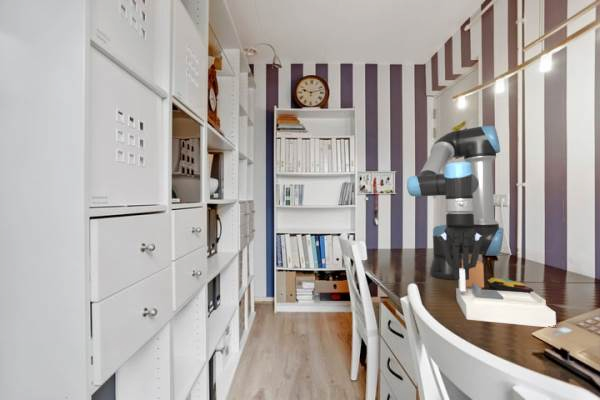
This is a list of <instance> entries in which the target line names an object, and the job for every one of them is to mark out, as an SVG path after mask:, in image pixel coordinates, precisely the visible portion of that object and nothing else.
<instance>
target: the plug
mask: <svg viewBox="0 0 600 400" xmlns="http://www.w3.org/2000/svg"><path fill="white" fill-rule="evenodd" d="M470 261H471V259H469V263H470ZM462 268H464V267H463V260H462ZM484 275H485V274H484V263H483V262H482V261H481V260H477V264H476V267H475V268H470V269H469V280H465V285H466V289H472V283H477V284H478V285H479V286H480V287H481V288H485V279H484Z"/></svg>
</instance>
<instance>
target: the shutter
mask: <svg viewBox="0 0 600 400" xmlns="http://www.w3.org/2000/svg"><path fill="white" fill-rule="evenodd" d="M472 293H473V294H474V296H475V297H477V298H491V299H503V296H502V295H501V294H499V293H498V292H497V291H490V289H482V287H480V286H479V285H478V284H477V283H472Z"/></svg>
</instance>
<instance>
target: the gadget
mask: <svg viewBox="0 0 600 400" xmlns="http://www.w3.org/2000/svg"><path fill="white" fill-rule="evenodd" d="M485 284H487V285H488V290H494V291H509V292H524V293H529V294H530V292H534V289H533V288H531V287H528V286H526V284H525V283H523V282H519V281H515V280H511V279H508V278H504V277H501V278H497V277H491V278H489V279H486V280H485Z"/></svg>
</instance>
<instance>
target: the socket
mask: <svg viewBox="0 0 600 400" xmlns="http://www.w3.org/2000/svg"><path fill="white" fill-rule="evenodd" d="M489 290H490V289H489ZM455 291H456V292H455V293H456V294H455V296H456V302H457V304H458V306H459V307H460V310H461V311H462V313H463V315H464V318H465V319H466V320H469V321H479V322H480V321H481V322H490V323H499V324H508V325H509V324H510V325H511V324H512V325H520V326H530V327H531V326H532V327H541V328H549V327H548V326H553V325H556V326H557V314H556V311H554V310H553V309H551V308H550V307H549V306H547V303H546V302H547V301H546V299H545V298H543V297H542V296H541V295H539V294H537V293H536V292H534V291H533V292H530V293H524V292H509V291H497V292H498V293H499V294H501V295H502V296H503V299H491V298H477V297H475V296H474V294H473V293H472V289H466V292H465V291H460V290H459V287H456V288H455ZM490 291H494V290H490Z"/></svg>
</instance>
